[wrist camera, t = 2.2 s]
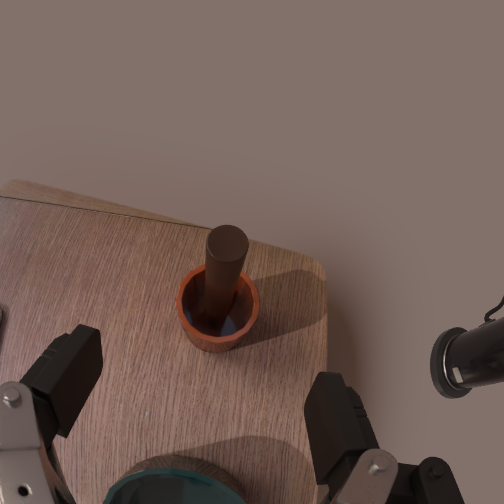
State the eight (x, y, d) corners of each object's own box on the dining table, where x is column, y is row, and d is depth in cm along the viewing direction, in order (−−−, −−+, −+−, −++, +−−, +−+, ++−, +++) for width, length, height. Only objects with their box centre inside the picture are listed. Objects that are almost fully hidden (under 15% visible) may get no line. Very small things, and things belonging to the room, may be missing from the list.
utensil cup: (239, 287, 34) (250, 258, 27) (252, 347, 31) (267, 334, 24) (178, 295, 32) (171, 268, 25) (188, 357, 30) (182, 348, 22)
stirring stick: (223, 309, 32) (244, 222, 16) (226, 328, 31) (253, 259, 15) (203, 312, 31) (203, 226, 15) (206, 331, 30) (209, 265, 14)
